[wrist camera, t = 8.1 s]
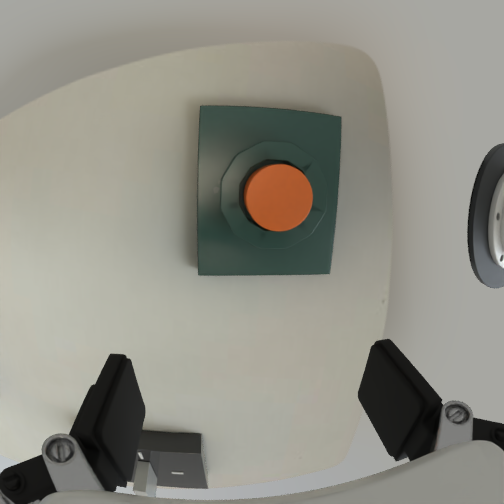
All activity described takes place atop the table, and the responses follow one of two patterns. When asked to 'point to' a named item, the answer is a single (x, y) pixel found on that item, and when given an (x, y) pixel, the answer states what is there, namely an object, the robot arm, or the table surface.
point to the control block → (238, 172)
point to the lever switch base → (174, 459)
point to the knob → (145, 480)
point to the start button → (278, 197)
